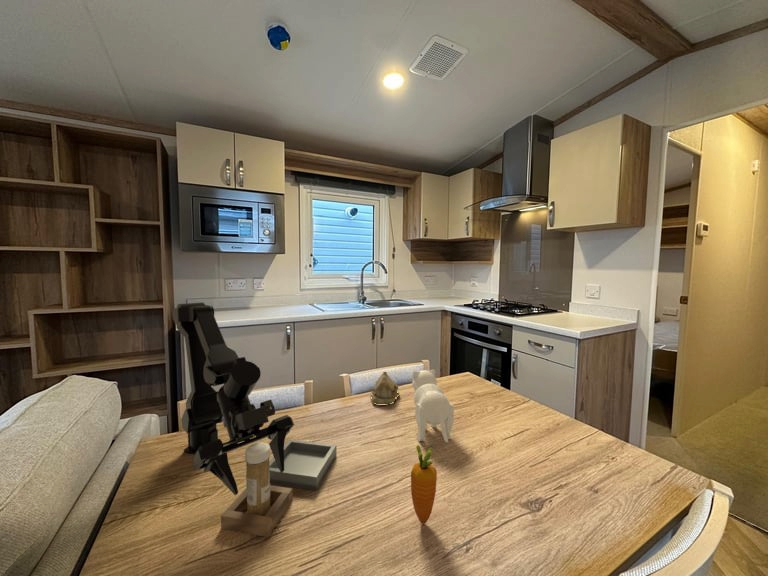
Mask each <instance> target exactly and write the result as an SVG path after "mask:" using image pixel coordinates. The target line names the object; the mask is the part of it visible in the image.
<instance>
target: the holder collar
mask: <svg viewBox="0 0 768 576" xmlns="http://www.w3.org/2000/svg"><path fill="white" fill-rule="evenodd" d="M292 502H293V487H287V486H285V487H284V486H280V485H279V486H278V485H273V484H270V503H273V504H272V506H271V508H270V510H269V511H268V512H267V514H266V515H265V516H259V515H253V514H248V513H247V512H245V511H246V509H248V508H247V487H245V488H244V490H243V491H242V492H241V493H240V494H239V495H238V497H237V498H236V499H234V501H233V502H232V503H231V504H229V506H228V507H227V508H226V510H225V511H224V512H222V514H221V515H220V528H221V529H222V530H227V531H233V532H238V533H243V534H249V535H254V536H259V537H265V538H268V537H269V536H270V534H271V533H272V531H273V530H274V528H276V526H277V524H278V522H279V521H280V519H281V518H282V517H283V515H284V513H285V512H286V511H287V509H288V508H289V506H290V504H291V503H292Z"/></svg>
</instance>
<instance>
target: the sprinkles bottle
mask: <svg viewBox="0 0 768 576" xmlns="http://www.w3.org/2000/svg"><path fill="white" fill-rule="evenodd" d="M244 455H245V456H244V460H245V465H246V469H245V470H246V474H245V478H246V479H245V480H246V485H245V486H246V487H245V488H247V508H246V509H247V511H246V513H248V514H253V515H259V516H265V515H266V514H267V512H268V511H269V510H270V508H271V507H272V506H271V502H270V485H271V483H270V469H269V468H270V466H269V462H270V458H271V448H270V445H269V443H267V442H255V443H253V444H250V445H249V446H248V447H247V448H246V449H245V451H244Z"/></svg>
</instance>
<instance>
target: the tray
mask: <svg viewBox="0 0 768 576" xmlns="http://www.w3.org/2000/svg"><path fill="white" fill-rule="evenodd" d="M336 458H337V444H330V443H323V442H314V441H306V440H299V439H298V440H297V439H292V438H290V439H289V440H288V441H286V443H284V471H283V472H282V473H281V472H280V470H279V468H278V466H277V464H276V461H275V458H274V456H272V458H271V459H269V466H270V468H269V469H270V485H276V486H278V485H279V486H283V487H284V486H285V487H290V488H299V489H305V490H312V491H317V490H318V489H319V487H320V485H321V483H322V482H323V480H324V479H325V477H326V475H327V473H328V472H329V470H330V468H331V467H332V465H333V463H334V461H335V460H336Z"/></svg>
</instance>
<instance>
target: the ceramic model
mask: <svg viewBox="0 0 768 576" xmlns="http://www.w3.org/2000/svg"><path fill="white" fill-rule="evenodd" d="M398 390H399V386H398V384H396V383H395V382H394V380H393V379H392V378H391V377H390V376H389V375H388V372H387V371H383V372H382V374H381V375H380V376H379V377H378V378H377V380H375V384H374V389H372V391H371V393H372V394H373V395H371V394H370V401H371V400H372V401H371V403H372V402H373V403H376V404H390V403H392V402H394V401H395V397H397V395H399V394H400V392H398ZM397 392H398V393H397ZM371 397H372V399H371ZM373 403H372V404H373Z"/></svg>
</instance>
